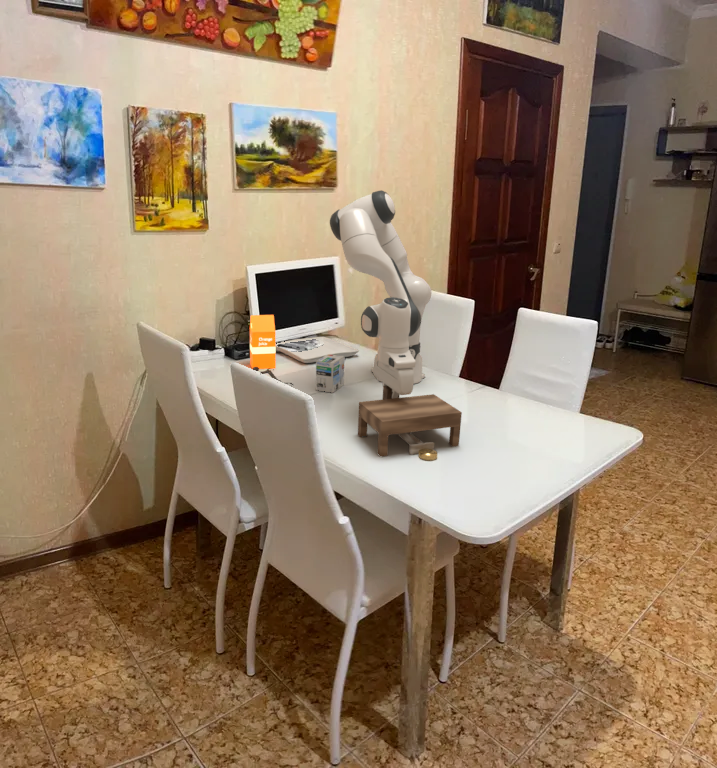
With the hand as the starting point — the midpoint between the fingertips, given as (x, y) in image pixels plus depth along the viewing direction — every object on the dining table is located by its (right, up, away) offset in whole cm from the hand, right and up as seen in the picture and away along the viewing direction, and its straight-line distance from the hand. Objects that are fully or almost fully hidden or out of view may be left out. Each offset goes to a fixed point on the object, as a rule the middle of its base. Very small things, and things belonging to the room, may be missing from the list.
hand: (390, 399), depth 189 cm
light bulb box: (-20, +3, +35) cm, 40 cm away
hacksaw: (-41, +7, +44) cm, 60 cm away
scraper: (+3, -10, -6) cm, 12 cm away
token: (+9, -15, -18) cm, 25 cm away
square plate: (-28, +17, +77) cm, 83 cm away
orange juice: (-46, +11, +57) cm, 74 cm away
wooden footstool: (+4, -11, -8) cm, 15 cm away
